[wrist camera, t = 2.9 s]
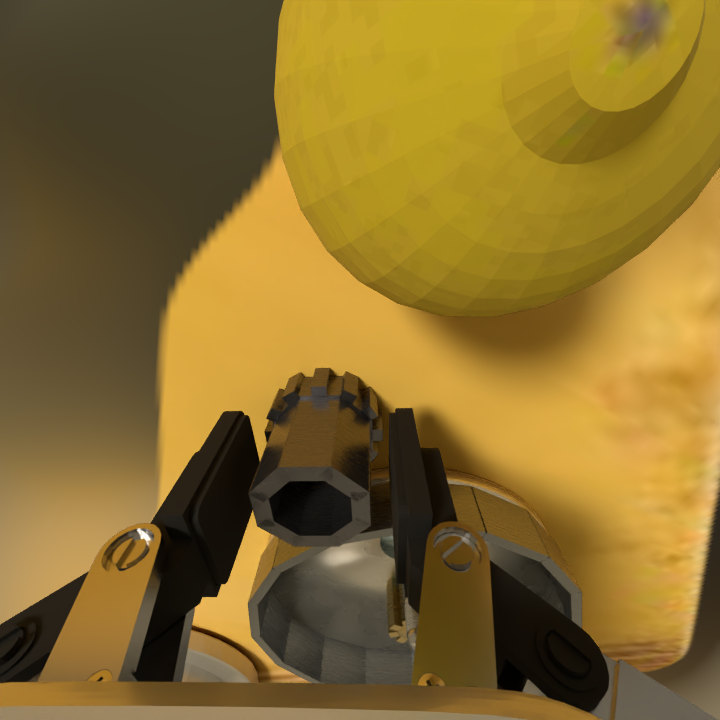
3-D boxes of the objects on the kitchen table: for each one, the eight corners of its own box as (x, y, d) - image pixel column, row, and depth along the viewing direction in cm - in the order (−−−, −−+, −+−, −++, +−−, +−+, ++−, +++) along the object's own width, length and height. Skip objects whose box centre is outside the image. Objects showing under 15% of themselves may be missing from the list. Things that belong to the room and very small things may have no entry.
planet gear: (381, 454, 14) (386, 555, 10) (281, 456, 14) (250, 555, 10) (381, 367, 12) (386, 451, 8) (264, 369, 12) (219, 454, 8)
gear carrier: (441, 657, 22) (460, 778, 18) (229, 596, 19) (188, 722, 15) (615, 535, 16) (710, 671, 12) (344, 417, 13) (331, 540, 9)
